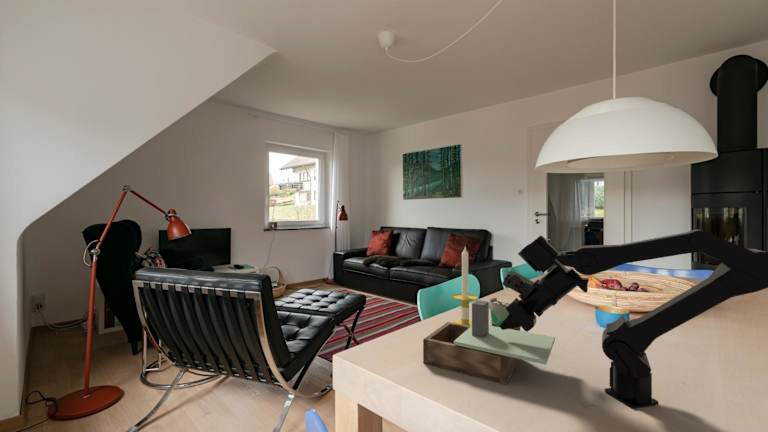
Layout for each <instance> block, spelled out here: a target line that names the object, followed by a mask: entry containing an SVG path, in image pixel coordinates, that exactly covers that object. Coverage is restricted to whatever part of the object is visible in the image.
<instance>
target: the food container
mask: <svg viewBox="0 0 768 432" xmlns="http://www.w3.org/2000/svg"><path fill="white" fill-rule="evenodd" d="M497 298H498V297H492V298H490V299H489V301H488V302H489V312H490V321H491V326H495V327H500V325H501V324H502V323H503V321H504V320H505V319H506V318H507V316H508V315H509V312H508V311H507V310H506V307H507V306H508V305H509V304H510V303H508V302H502V301H499V300H498V299H497ZM510 329H512V330H518V331H521V327H516V328H510Z"/></svg>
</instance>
